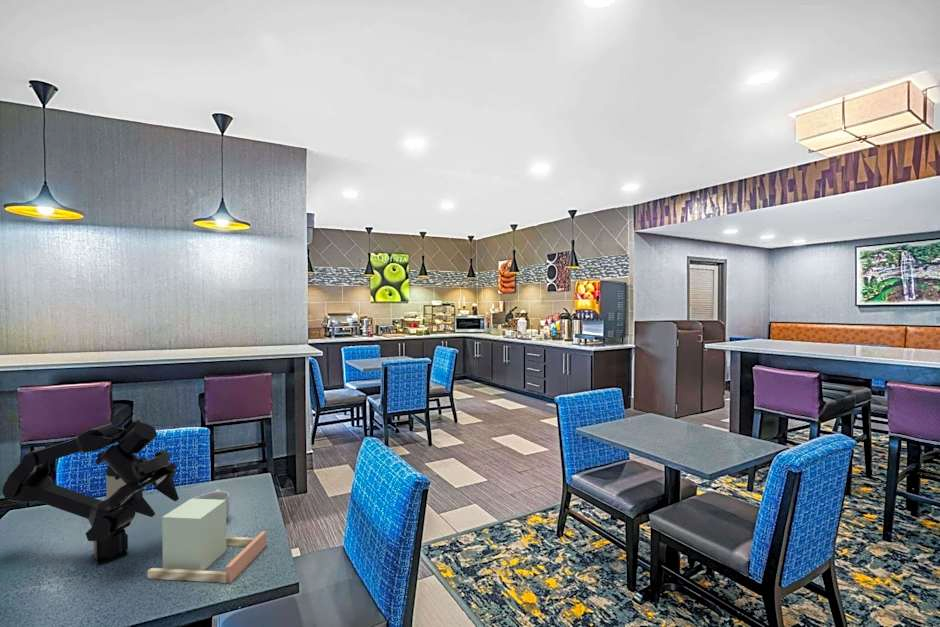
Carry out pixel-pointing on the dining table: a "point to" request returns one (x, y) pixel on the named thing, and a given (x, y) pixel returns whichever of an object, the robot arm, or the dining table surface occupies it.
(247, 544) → the guide chute
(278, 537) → the dining table surface
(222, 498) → the teacup
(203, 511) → the sage block
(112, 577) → the dining table surface
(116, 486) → the travel mug
